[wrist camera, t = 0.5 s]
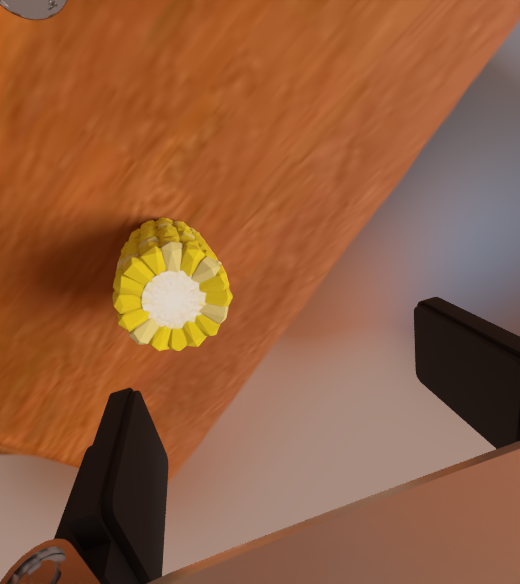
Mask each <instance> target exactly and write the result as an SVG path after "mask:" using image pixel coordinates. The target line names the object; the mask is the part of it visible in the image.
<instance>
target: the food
mask: <svg viewBox="0 0 520 584" xmlns="http://www.w3.org/2000/svg"><path fill="white" fill-rule="evenodd" d="M115 273H116V276H115V279H114V283H113V288H114V289H115V291H114V293H113V294H112V295H113V297H112V298H113V304H114V307H115V309H116V310H117V311H118V314H117V318H118V319H119V321H118V324H119V325H120V326H122V327H123V328H124V329H126V330H127V331H129V332H130V333H129V336H130V337H131V338H132V339H133V340H134V341H135V342H136V343H137V344H150V345H151V346H152V347H154V348H155V349H157V350H158V351H160V350H166V349H172V350H176V351H181V350H182V349H183V348H184V347H185V346H196V347H198V346H199V345H200V344H201V343H202V342H203V340H204V339H205V338H206V337H207V336H212V335H216V333H217V331H218V328H219V326H220V323H221V322H223V321H224V320H225V319H226V317H227V311H228V306H229V304H230V301H231V299H232V297H233V296H232V294H231V292H230V290H229V282H228V279H227V274H226V272H225V270H224V268H223V266H222V265H221V262H220V261H218V259H217V257H216V256H215V254H214V253H213V252H212V251H211V249H210V247H209V246H208V245H207V244H206V242H205V240H204V239H203V237H201V236H200V234H199V232H196V231H195V230H194V229H193V228H190V227H188V226H187V224H185V223H184V222H183V221H179V220H178V221H174V222H173V220H170V219H168V218H162V217H161V218H160V219H158V220H157V221H156V222H155V221H153V220H151V221H147V222H145V223H143V224H142V225H141V229H137V230H135V231H134V232H132V233H131V236H130V237H129V241H128V242H126V243H125V245H124V247H123V248H122V249H121V256H120V258H119V261H118V264H117V270H116V272H115Z"/></svg>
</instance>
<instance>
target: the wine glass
mask: <svg viewBox="0 0 520 584" xmlns="http://www.w3.org/2000/svg"><path fill="white" fill-rule="evenodd" d="M66 2H67V0H0V4H1V5H2V6H3V7H4V8H5V9H7V10H8V11H10V12H12V13H13V14H15V15H18V16H20V17H23V18H26V19H31V20H42V19H47V18H50V17H52V16H54V15H56V14H57V13H58V12H59V11H60V10H61V9H62V8H63V7H64V5H65V4H66Z"/></svg>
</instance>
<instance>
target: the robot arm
mask: <svg viewBox="0 0 520 584" xmlns="http://www.w3.org/2000/svg"><path fill="white" fill-rule="evenodd" d="M414 330H415V362H416V374H417V377H418V379H419V380H420V382H421V383H422V384H424V385H425V386H426V387H427V388H428V389H429V390H430V391H432V392H433V393H434V394H435V395H436V396H437V397H438V398H439V399H441V400H442V401H443V402H444V403H445V404H446V405H447V406H449V407H450V408H451V409H452V410H453V411H454V412H455V413H456V414H458V415H459V416H460V417H461V418H462V419H463V420H464V421H466V422H467V423H468V424H469V425H470V426H471V427H472V428H474V429H475V430H476V431H477V432H478V433H479V434H481V436H483V437H484V438H485V439H486V440H487V441H489V443H491V444H492V445H493V446H494V447H495V448H496V450H494V451H491V452H488V453H485V454H482V455H480V456H477V457H474V458H471V459H469V460H466V461H463V462H460V463H458V464H455V465H452V466H450V467H447V468H444V469H441V470H439V471H436V472H433V473H431V474H428V475H425V476H423V477H420V478H417V479H414V480H412V481H409V482H406V483H404V484H401V485H398V486H395V487H393V488H390V489H388V490H385V491H382V492H379V493H377V494H374V495H371V496H369V497H366V498H364V499H361V500H358V501H355V502H353V503H350V504H347V505H345V506H342V507H339V508H337V509H334V510H331V511H329V512H326V513H323V514H321V515H318V516H315V517H313V518H310V519H307V520H305V521H302V522H300V523H297V524H294V525H292V526H289V527H286V528H284V529H281V530H279V531H276V532H273V533H271V534H268V535H265V536H263V537H260V538H257V539H255V540H252V541H249V542H247V543H244V544H242V545H239V546H236V547H234V548H231V549H229V550H226V551H224V552H221V553H219V554H216V555H214V556H211V557H209V558H206V559H204V560H201V561H199V562H196V563H194V564H191V565H189V566H186V567H184V568H181V569H179V570H176V571H174V572H171V573H169V574H167V575H165V576H162V565H163V548H164V547H163V546H164V531H165V514H166V497H167V481H168V458H167V454H166V452H165V449H164V447H163V444H162V442H161V440H160V437H159V435H158V433H157V430H156V428H155V426H154V423H153V421H152V419H151V416H150V414H149V412H148V409H147V407H146V405H145V402H144V400H143V397H142V395H141V393H140V392H139V391H138V390H137V391H133V390H132V388H127V389H124V390H121V391H117V392H114V393H111V394H110V396H109V399H108V402H107V405H106V408H105V411H104V414H103V416H102V419H101V422H100V425H99V428H98V431H97V434H96V437H95V440H94V442H93V445H92V446H90V447H89V448H88V449H87V450H86V452H85V455H84V458H83V460H82V463H81V466H80V469H79V472H78V474H77V477H76V480H75V482H74V485H73V488H72V491H71V493H70V496H69V499H68V502H67V504H66V507H65V510H64V513H63V516H62V518H61V521H60V524H59V527H58V529H57V532H56V535H55V538H54V539H53V540H49V541H46V542H44V543H42V544H40V545H38V546H36V547H34V548H33V549H31V550H30V551H29V552H28V553H26V554H25V555H24V556H22V557H21V558H20V559H19V560H18V561H17V562H16V563H15V564H14V565H13V566H12V567H11V568H10V570H9V571H8V572H7V574H6V575H5V576H4V578H3V579H2V580H1V582H0V584H520V337H519V336H517V335H515V334H513V333H511V332H509V331H507V330H505V329H503V328H501V327H499V326H496V325H495V324H492V323H490V322H488V321H486V320H484V319H482V318H480V317H478V316H476V315H474V314H472V313H470V312H468V311H466V310H464V309H461V308H459V307H457V306H455V305H453V304H451V303H449V302H447V301H445V300H443V299H441V298H438V297H434V298H430V299H426V300H423V301H420V302H419V303H418V305H417V307H416V308H415V309H414Z"/></svg>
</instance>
